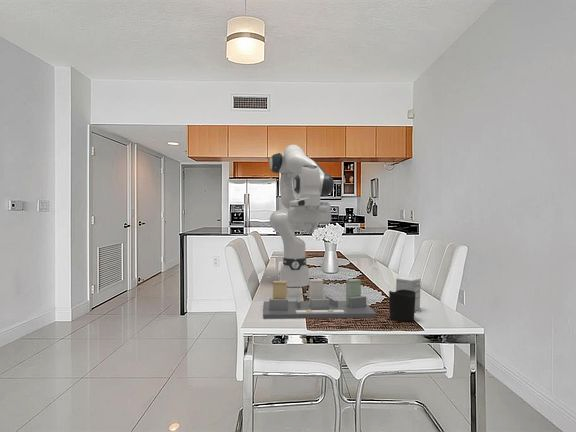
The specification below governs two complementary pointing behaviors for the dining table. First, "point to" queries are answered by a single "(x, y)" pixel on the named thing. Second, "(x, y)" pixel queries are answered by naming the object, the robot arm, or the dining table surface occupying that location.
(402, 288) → the supplement box
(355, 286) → the key sage
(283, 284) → the key ochre
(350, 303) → the keypad console
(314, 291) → the key cream
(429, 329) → the dining table surface
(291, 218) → the robot arm
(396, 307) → the pen holder
